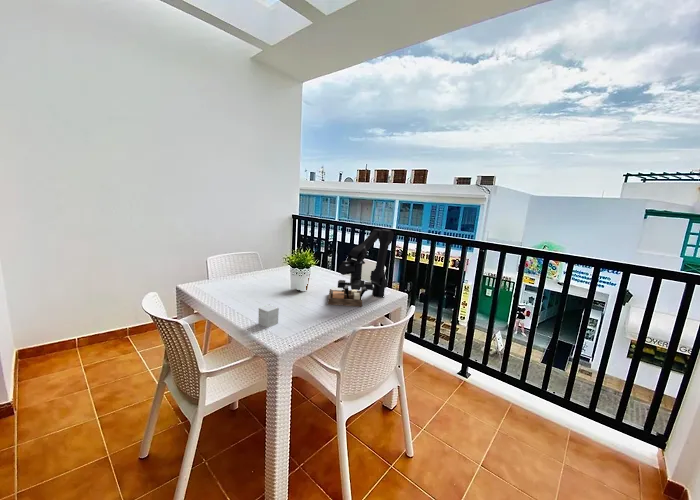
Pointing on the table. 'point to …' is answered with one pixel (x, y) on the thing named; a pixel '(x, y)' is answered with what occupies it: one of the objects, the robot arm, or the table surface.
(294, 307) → the table surface
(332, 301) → the lane rack
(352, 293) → the cream white block dumbbell
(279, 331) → the table surface
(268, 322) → the product box
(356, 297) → the cream orange dumbbell block
